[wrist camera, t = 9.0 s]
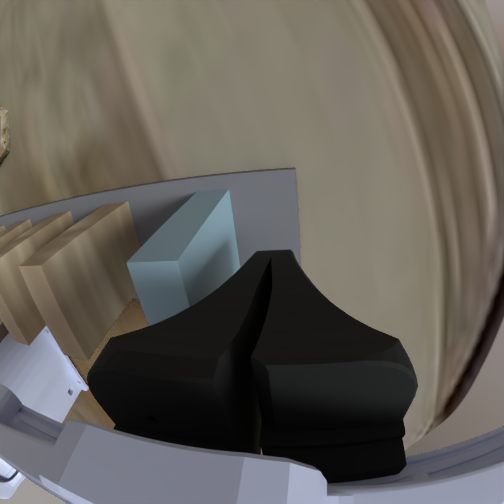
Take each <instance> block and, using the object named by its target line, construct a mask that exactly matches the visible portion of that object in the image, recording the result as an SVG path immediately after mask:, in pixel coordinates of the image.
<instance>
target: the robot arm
mask: <svg viewBox="0 0 504 504" xmlns="http://www.w3.org/2000/svg"><path fill="white" fill-rule="evenodd" d="M87 382H88V386H89V389H90V391H91V393H92V394H93V396H94V398H95V399H96V400H97V402H98V403H99V404H100V406H101V407H102V408H103V410H104V411H105V412H106V413H107V415H108V416H109V417H110V418H111V419H112V421H113V422H114V423H115V424H116V425H115V427H114V429H110V428H107V427H104V426H101V425H98V424H95V423H90V422H84V421H79V420H68V421H67V423H66V424H62V422H63V420H64V419H65V417H66V415H67V413H68V412H69V410H70V408H71V406H72V405H73V403H74V401H75V400H76V398H77V396H78V395H79V393H80V391H81V390H84V391H87V390H88V386H87V384H86V383H85V382H84V380H83V379H82V377H81V376H80V374H79V373H78V371H77V370H76V368H75V367H74V365H73V364H72V362H71V360H70V359H69V357H68V356H66V355H64V354H63V353H62V351H61V349H60V348H59V346H58V344H57V343H56V341H55V339H54V338H53V336H52V334H51V332H50V331H49V329H48V327H47V325H46V327H45V328H44V329H43V330H42V331H41V332H40V334H39V335H38V336H37V337H36V338H35V339H34V341H33V342H32V343H31V344H30V345H29V346H28V345H25V344H22V343H18V342H15V341H14V340H13V338H12V337H11V335H10V333H8V334H7V336H6V337H5V338H4V339H3V340H2V341H1V342H0V499H8V498H10V497H11V496H12V495H13V494H14V492H15V490H16V489H17V487H18V485H19V484H20V483H21V482H22V481H23V480H24V479H25V478H26V477H27V478H28V479H29V480H31V481H32V482H34V483H35V484H37V485H39V486H40V487H42V488H43V489H44V490H46V491H48V492H50V493H51V494H53V495H54V496H56V497H58V498H60V499H61V500H63V501H65V502H66V504H504V426H503V427H500V428H498V429H495V430H493V431H491V432H488V433H486V434H483V435H480V436H478V437H475V438H472V439H469V440H466V441H464V442H461V443H458V444H454V445H451V446H448V447H444V448H441V449H437V450H434V451H430V452H426V453H422V454H418V455H413V456H409V457H405V451H404V445H403V440H402V437H404V435H405V427H404V422H403V418H404V416H405V414H406V412H407V411H408V409H409V407H410V405H411V403H412V401H413V399H414V397H415V394H416V391H417V387H418V384H417V378H416V374H415V371H414V369H413V366H412V363H411V361H410V359H409V357H408V355H407V353H406V351H405V349H404V348H403V346H402V344H401V342H400V340H399V339H397V338H395V337H393V336H390V335H388V334H385V333H383V332H380V331H378V330H376V329H373V328H371V327H369V326H367V325H365V324H363V323H362V322H360V321H358V320H356V319H354V318H353V317H351V316H350V315H348V314H346V313H345V312H344V311H342V310H341V309H339V308H338V307H337V306H335V305H334V304H333V303H331V302H330V301H329V300H328V299H327V298H326V297H325V296H324V295H323V294H322V293H321V292H320V291H319V290H318V289H317V288H316V287H315V286H314V284H313V283H312V282H311V281H310V280H309V278H308V277H307V276H306V274H305V273H304V271H303V270H302V268H301V267H300V265H299V264H298V262H297V260H296V258H295V256H294V252H293V251H292V250H291V249H288V250H266V251H256V252H255V253H254V254H253V255H252V256H251V257H250V258H249V259H248V260H247V261H246V263H245V264H244V265H243V266H242V267H241V268H240V269H239V270H238V271H237V272H236V273H235V274H234V275H232V276H231V277H230V278H229V279H228V280H227V281H226V282H224V283H223V284H222V285H221V286H220V287H219V288H217V289H216V290H215V291H213V292H212V293H211V294H209V295H208V296H206V297H205V298H203V299H202V300H200V301H199V302H197V303H196V304H194V305H192V306H190V307H189V308H187V309H185V310H183V311H181V312H179V313H178V314H176V315H174V316H172V317H169V318H167V319H165V320H163V321H161V322H158V323H156V324H153V325H151V326H148V327H145V328H142V329H139V330H136V331H133V332H130V333H126V334H123V335H120V336H116V337H112V338H110V340H109V341H108V343H107V344H106V346H105V347H104V349H103V350H102V352H101V353H100V355H99V356H98V358H97V360H96V361H95V363H94V364H93V366H92V367H91V369H90V371H89V372H88V376H87ZM261 448H262V453H263V455H260V454H261Z"/></svg>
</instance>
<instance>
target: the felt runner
mask: <svg viewBox="0 0 504 504" xmlns="http://www.w3.org/2000/svg"><path fill="white" fill-rule="evenodd" d="M223 189H229V193H230V200H231V207H232V214H233V221H234V228H235V235H236V242H237V248H238V255H239V262H240V268H241V267H242V266H243V265H244V264H245V263H246V261H247V260H248V259H249V258H250V257H251V256H252V255H253V254H254V253H255V252H256V251H266V250H288V249H291V250H292V251H293V252H294V256H295V258H296V260H297V262H298V264H299V265H300V267H301V257H300V234H299V214H298V198H297V182H296V169H295V168H281V169H267V170H254V171H243V172H232V173H222V174H213V175H204V176H196V177H188V178H181V179H173V180H166V181H159V182H153V183H147V184H140V185H134V186H129V187H123V188H117V189H112V190H107V191H101V192H96V193H91V194H87V195H82V196H77V197H73V198H68V199H64V200H59V201H55V202H51V203H47V204H43V205H39V206H35V207H31V208H27V209H23V210H20V211H16V212H12V213H9V214H5V215H2V216H0V226H1V225H4V226H5V229H7V228H9V227H10V226H12V225H14V224H15V223H17V222H18V221H23V220H27V219H30V221H31V224H32V227H34V226H35V225H37V224H38V223H40V222H42V221H43V220H45V219H46V218H48V217H50V216H51V215H53V214H56V213H61V212H66V211H71V215H72V218H73V222H74V225H75V224H76V223H78V222H79V221H81V220H82V219H84V218H85V217H87V216H88V215H90V214H91V213H93V212H94V211H96V210H97V209H99V208H101V207H102V206H104V205H105V204H112V203H118V202H125V201H128V202H129V207H130V211H131V215H132V219H133V223H134V226H135V230H136V234H137V238H138V241H139V245H140V248H141V247H142V246H143V245H144V244H145V243H146V242H147V240H148V239H149V238H150V237H151V236H152V235H153V234H154V233H155V232H156V231H157V230H158V229H159V228H160V227H161V226H162V225H163V224H164V223H165V222H166V221H167V220H168V219H169V218H170V217H171V216H172V215H173V214H174V213H175V212H176V211H178V210H179V209H180V208H181V207H182V206H183V205H184V204H185V203H186V202H187V201H188V200H189V199H190V198H191V197H192V196H193V195H194V194H195V193H196V192H203V191H213V190H223ZM132 299H139V298H138V295H137V292H136V293H135V295H134V296H133V297H132Z"/></svg>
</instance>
